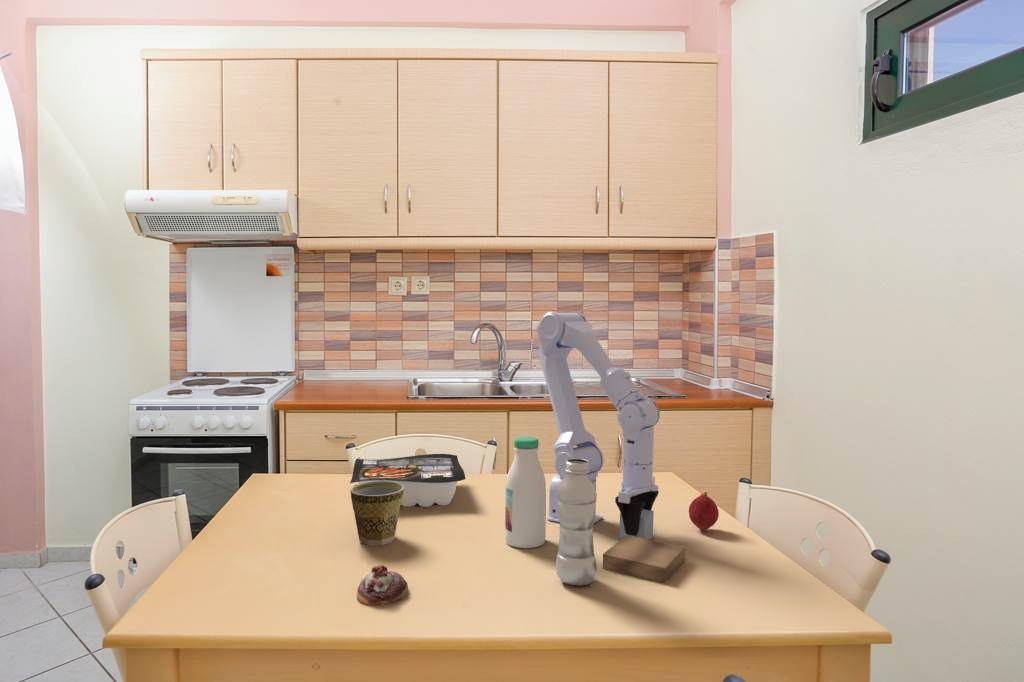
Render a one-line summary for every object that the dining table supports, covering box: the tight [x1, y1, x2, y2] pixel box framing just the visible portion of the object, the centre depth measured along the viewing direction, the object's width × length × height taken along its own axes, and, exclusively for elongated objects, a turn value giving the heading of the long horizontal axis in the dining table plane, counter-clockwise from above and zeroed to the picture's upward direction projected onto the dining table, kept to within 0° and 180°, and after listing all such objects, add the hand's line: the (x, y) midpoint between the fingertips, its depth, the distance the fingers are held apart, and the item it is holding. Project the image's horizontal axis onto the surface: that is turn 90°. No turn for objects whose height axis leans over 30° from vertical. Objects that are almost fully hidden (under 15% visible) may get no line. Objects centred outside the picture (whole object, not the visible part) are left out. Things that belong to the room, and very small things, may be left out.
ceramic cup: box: [349, 481, 404, 546], centre depth 125 cm, size 13×10×10 cm
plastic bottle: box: [555, 459, 598, 586], centre depth 105 cm, size 6×7×20 cm
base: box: [602, 535, 686, 584], centre depth 113 cm, size 11×11×2 cm
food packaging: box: [349, 453, 466, 508], centre depth 153 cm, size 25×8×23 cm
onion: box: [688, 490, 720, 532], centre depth 131 cm, size 6×6×8 cm
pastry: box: [356, 564, 409, 606], centre depth 101 cm, size 8×8×5 cm
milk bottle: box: [504, 436, 547, 549], centre depth 123 cm, size 8×8×20 cm
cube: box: [619, 509, 655, 540], centre depth 127 cm, size 5×5×5 cm
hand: (636, 530), depth 127 cm, fingers closed on cube, 5 cm apart
